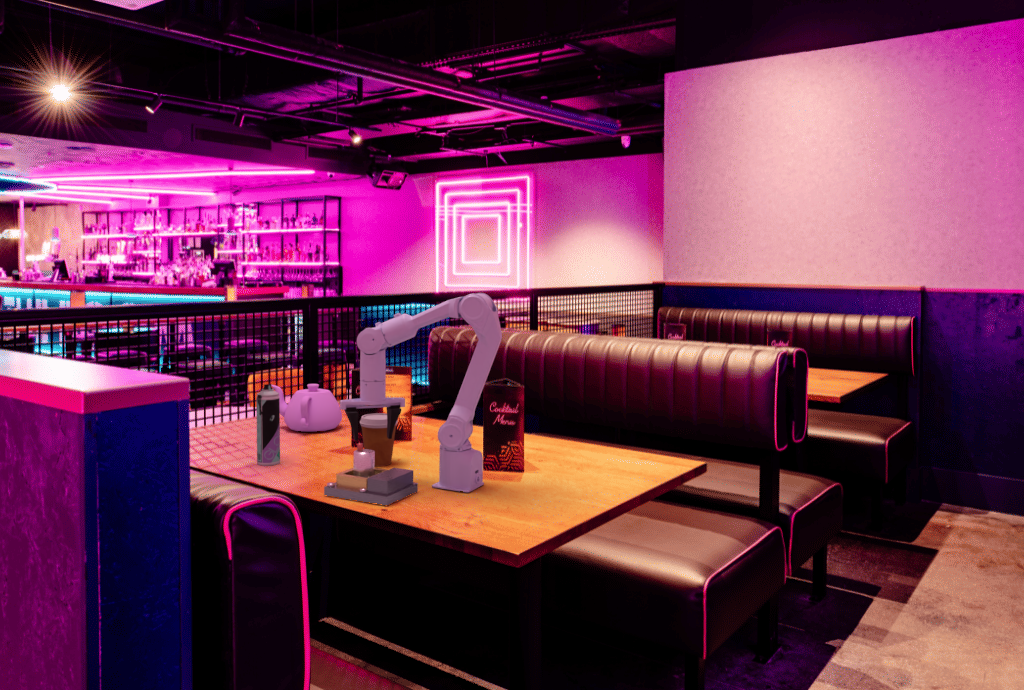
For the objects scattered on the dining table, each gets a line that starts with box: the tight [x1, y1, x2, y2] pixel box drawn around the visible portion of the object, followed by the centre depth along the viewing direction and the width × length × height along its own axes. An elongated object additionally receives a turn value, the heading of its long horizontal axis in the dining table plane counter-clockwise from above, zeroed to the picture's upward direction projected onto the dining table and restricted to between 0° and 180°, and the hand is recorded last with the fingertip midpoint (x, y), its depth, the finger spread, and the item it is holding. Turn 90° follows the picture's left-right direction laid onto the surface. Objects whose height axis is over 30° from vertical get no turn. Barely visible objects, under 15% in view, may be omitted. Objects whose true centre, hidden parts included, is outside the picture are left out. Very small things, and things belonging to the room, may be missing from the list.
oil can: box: [352, 442, 375, 478], centre depth 166 cm, size 4×4×9 cm
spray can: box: [255, 383, 281, 467], centre depth 189 cm, size 6×6×20 cm
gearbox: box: [323, 467, 419, 506], centre depth 165 cm, size 16×12×5 cm
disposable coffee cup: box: [359, 412, 399, 467], centre depth 192 cm, size 10×10×12 cm
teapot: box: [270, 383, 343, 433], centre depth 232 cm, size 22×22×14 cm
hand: (372, 439), depth 174 cm, fingers open, 7 cm apart
